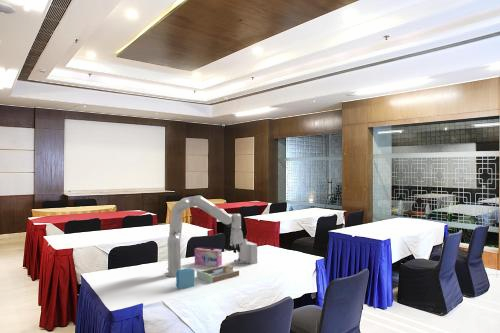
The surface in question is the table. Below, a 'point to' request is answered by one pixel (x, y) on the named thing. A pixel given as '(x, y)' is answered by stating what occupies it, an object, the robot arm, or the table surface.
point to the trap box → (216, 274)
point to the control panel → (247, 253)
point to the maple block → (227, 268)
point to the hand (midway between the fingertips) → (236, 252)
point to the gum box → (208, 256)
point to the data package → (185, 278)
